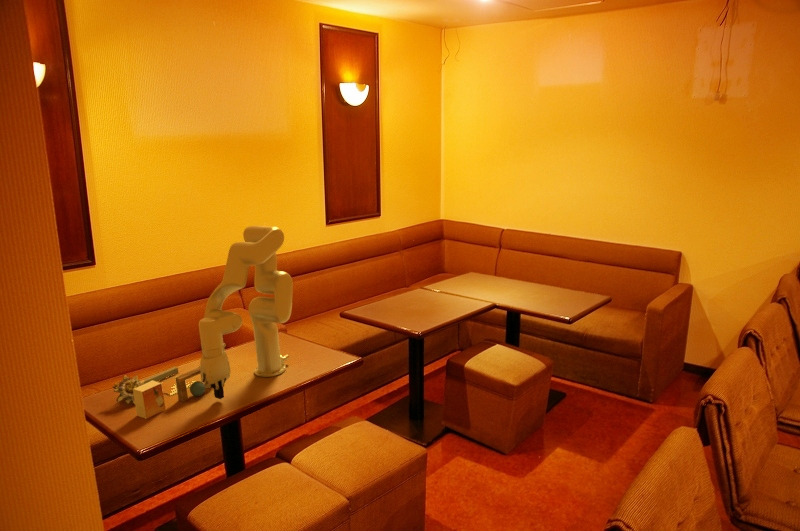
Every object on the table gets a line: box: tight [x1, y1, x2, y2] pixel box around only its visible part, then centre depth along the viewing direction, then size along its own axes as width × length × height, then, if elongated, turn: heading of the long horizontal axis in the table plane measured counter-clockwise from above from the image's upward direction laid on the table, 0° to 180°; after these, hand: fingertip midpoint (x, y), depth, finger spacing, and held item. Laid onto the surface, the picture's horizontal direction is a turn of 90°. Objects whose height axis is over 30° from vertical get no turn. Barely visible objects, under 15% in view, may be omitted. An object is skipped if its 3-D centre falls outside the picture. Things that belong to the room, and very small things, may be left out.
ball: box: [189, 380, 206, 397], centre depth 211 cm, size 6×6×6 cm
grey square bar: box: [143, 366, 179, 384], centre depth 226 cm, size 16×2×2 cm, turn 146°
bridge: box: [174, 366, 201, 403], centre depth 213 cm, size 3×14×9 cm, turn 146°
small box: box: [133, 380, 166, 420], centre depth 199 cm, size 8×6×10 cm
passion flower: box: [112, 374, 144, 405], centre depth 210 cm, size 11×11×12 cm
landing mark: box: [169, 380, 196, 397], centre depth 221 cm, size 13×13×1 cm
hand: (219, 397), depth 206 cm, fingers closed
